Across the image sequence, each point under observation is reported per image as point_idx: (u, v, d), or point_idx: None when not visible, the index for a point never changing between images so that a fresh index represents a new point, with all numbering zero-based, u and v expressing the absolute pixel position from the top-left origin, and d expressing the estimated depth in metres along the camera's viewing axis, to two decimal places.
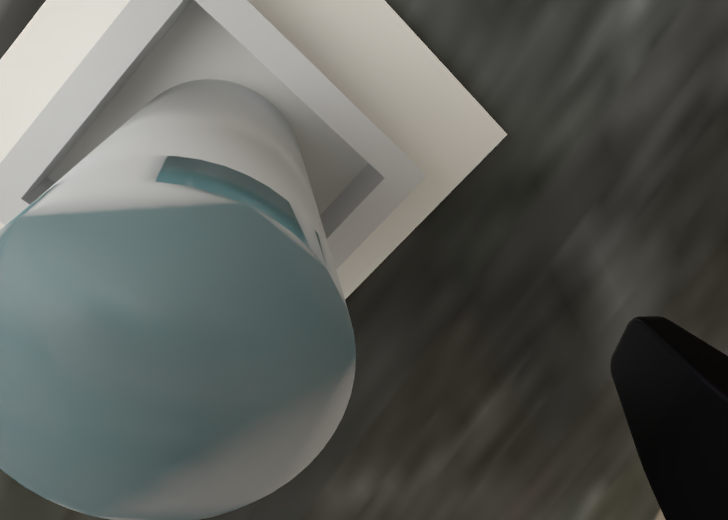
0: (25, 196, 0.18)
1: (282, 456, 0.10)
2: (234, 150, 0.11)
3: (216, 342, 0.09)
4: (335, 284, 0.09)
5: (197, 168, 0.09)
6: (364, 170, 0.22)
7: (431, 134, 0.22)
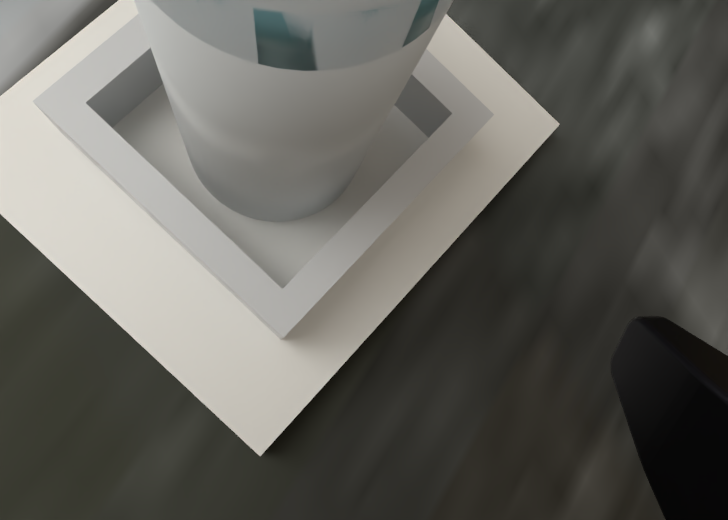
0: None
1: None
2: None
3: None
4: None
5: None
6: None
7: None
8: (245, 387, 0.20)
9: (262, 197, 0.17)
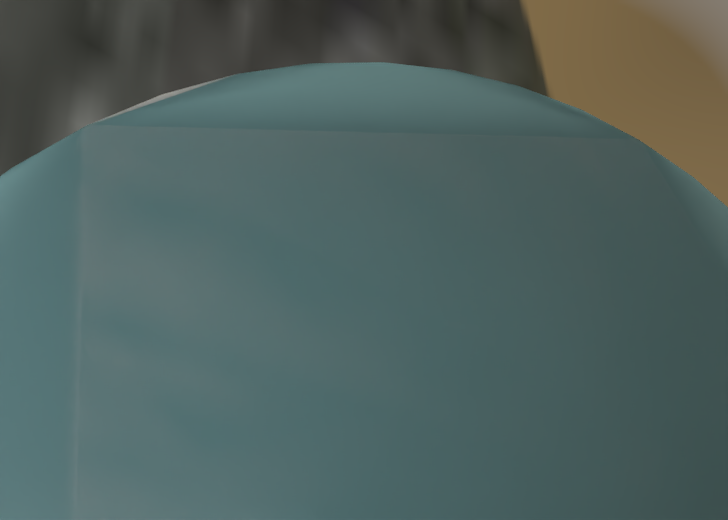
0: None
1: None
2: None
3: None
4: None
5: None
6: None
7: None
8: None
9: None
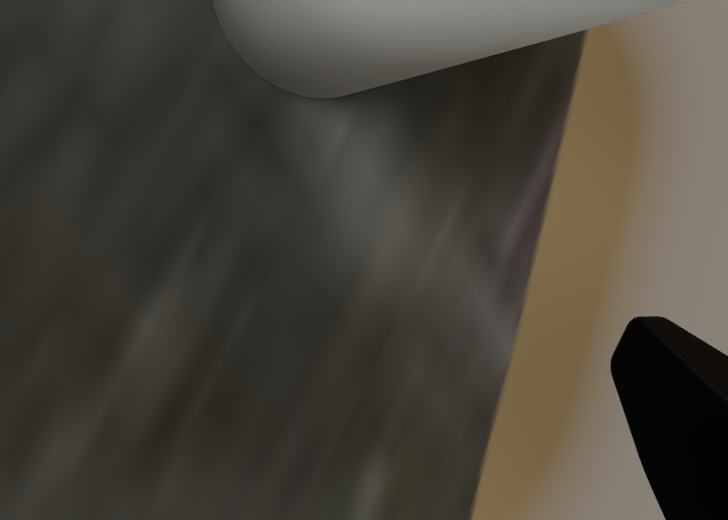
0: None
1: None
2: None
3: None
4: None
5: None
6: None
7: None
8: None
9: (293, 53, 0.14)
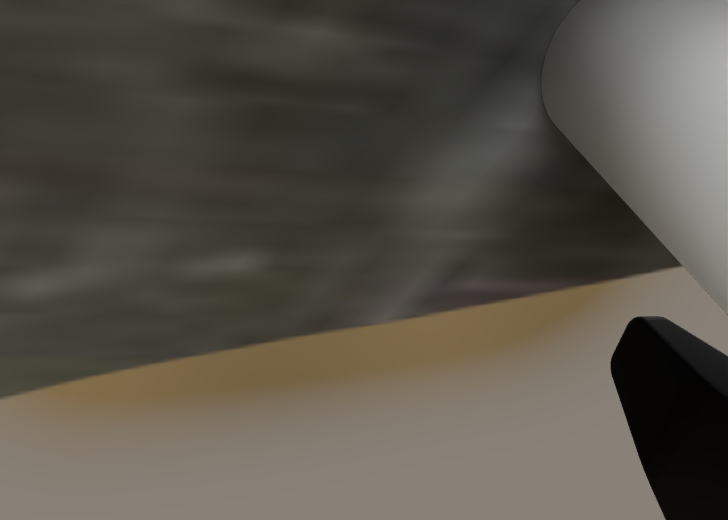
0: None
1: None
2: None
3: None
4: None
5: None
6: None
7: None
8: None
9: (594, 78, 0.17)
